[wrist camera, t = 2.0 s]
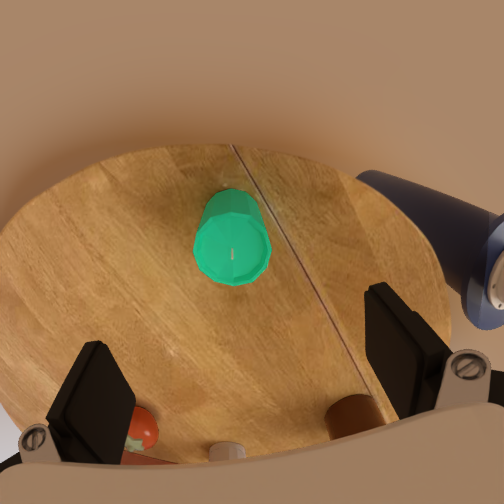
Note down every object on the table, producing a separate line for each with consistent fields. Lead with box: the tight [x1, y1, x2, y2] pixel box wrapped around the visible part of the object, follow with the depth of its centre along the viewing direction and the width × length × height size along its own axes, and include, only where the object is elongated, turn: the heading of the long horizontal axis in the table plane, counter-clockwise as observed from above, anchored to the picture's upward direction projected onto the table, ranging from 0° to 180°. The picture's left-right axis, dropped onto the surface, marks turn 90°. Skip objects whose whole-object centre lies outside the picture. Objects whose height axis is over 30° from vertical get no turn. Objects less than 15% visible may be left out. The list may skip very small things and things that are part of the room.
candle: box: [193, 188, 272, 286], centre depth 29 cm, size 6×6×12 cm
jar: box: [325, 394, 386, 441], centre depth 42 cm, size 10×10×10 cm
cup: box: [209, 442, 246, 462], centre depth 43 cm, size 8×8×12 cm
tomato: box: [125, 406, 159, 452], centre depth 41 cm, size 7×7×8 cm
